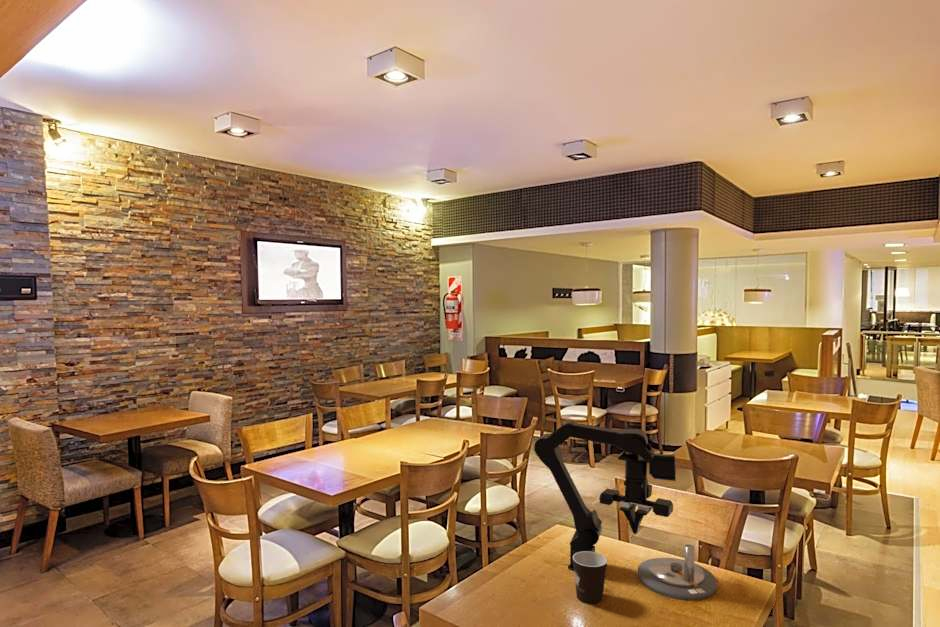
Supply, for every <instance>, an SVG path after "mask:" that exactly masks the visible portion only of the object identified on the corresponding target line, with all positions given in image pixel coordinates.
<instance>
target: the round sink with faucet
mask: <svg viewBox="0 0 940 627" xmlns="http://www.w3.org/2000/svg"><path fill="white" fill-rule="evenodd" d="M695 547H696V546H695V545H693V544H689V543H686V544H684V559H681V558H677V557H676V558H675V557H658V558H659V559H655V560H653V561H652V562H651V563H650V564H649V572H650V574H651V575H652V576H653V577H654V578H655V579H657V580H658V581H660V582H663V583H665V584H668V585H672V586H677V587H695V586H698V585H700V584H702V583H703V582H704V572H703V570H702V569H701V568H700V567H698V566H697V565H698V564H697V565H695V564H696V563H695V549H696V548H695Z"/></svg>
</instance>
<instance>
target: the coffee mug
mask: <svg viewBox="0 0 940 627" xmlns="http://www.w3.org/2000/svg"><path fill="white" fill-rule="evenodd" d="M573 566H574V570H573V576H574V583H575V592H576V599H577V600H578V601H579V602H581V603H582V604H587V605H598V604H600V603H601V602H603V597H604V596H603V595H604V588H605V581H606V580H605V579H606V575H607V573H606V572H607V566H608V558H607V557H606V556H605V555H603V554H602V553H598V552H597V551H595V552H591V551H582V552H578V553H575V554H574V555H573Z"/></svg>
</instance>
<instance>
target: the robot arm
mask: <svg viewBox="0 0 940 627" xmlns="http://www.w3.org/2000/svg"><path fill="white" fill-rule="evenodd" d="M570 438H572V439H573V438H575V439H579V440H585V441H590V442H595V443H600V444H605V445H611V446H613V447H616V448H618V450H622V452H621V453H620V454H619V455H618V456H617V459H618V460H619V461H620V460H621V461H624V465H625V466H624V467H625V468H624V469H625V470H624V481H623V486H624V495H623V494H620V493H621V492H620V491H619V490H617V489H612V488H606V489H604V491H602V492H601V493H600V494H599V503H600V504H602V505H606V506H611V505H612V504H613V503H614V502H617V503H620V507H619V511H622V512H623V514H624V516H625V517H626V519H627V522H628V524H629V526H630V528H631V530H632V533H633V534H635V535H637V533H638V531H639V529H640V526H641V524H642V521H643V519H644V516H648V514H649V513H650V512H651V510H652V512H653V513H654V514H655V515H656V516H660V517H664V518H668V517H670V515H671V514H672V513H673V511H674V503H673V502H672V500H669V499H665V498H659V497H658V498H657V499H655V501H653V500H648V499H650V497H652V492H653V484H649V479H648V474H649V475H651V477H652V478H653V479H654V480H661V481H672V482H676V473H677V472H676V471H677V470H676V469H677V467H676V466H677V465H676V455H675V454H671V453H669V454H664V453H663V454H662V453H656V452H655V450H654V448H653V447H652V446H651V444H650V443H649V442H648V440H649V438H648V436H647V434H646V433H645V431H644V430H642V429H640V428H619V429H618V428H617V429H616V428H615V429H612V428H608V427H602V426H596V425H592V424H587V423H586V424H585V423H580V422H575V421H572V420H568V421H566V422H564V424H562V425H561V426H560V427H558V428H557V429H556V430H553V432H551V433H544V434H543V435H541V436H540V437H539V438H538V439H537V440H536V441H535V443H534V447H533V450H534V452H535V454H536V456H537V457H538V458H539V460H540V461H541V463H543V465H545V466H546V467H547V468H548V469H549V471H550V472H551V475H552V476H553V479H554V481H555V482H556V484H557V487H558V489H559V491H560V493H561V494H562V496H563V498H564V500H565V503H566V504H567V507H568V509H569V510H570V513H571V514H572V517H573V518H572V519H573V523H574V524H573V525H574V529H575V531H574V534H573V536H572V538H571V540H570V542H569V546H570V550H569V551H570V554H569V559H570V560H569V562H570V563H569V564H568V565H567V569H568V570H569V569H570V570H572V571H574V566H573V555H574V554H575V553H578V552H582V551H591V552H596V546H595V545H596V544H597V543H598V541H599V539H600V536H601V534H602V530H603V526H602V524H603V521H602V520H601V519H600V517H599V516H598V512H597V510H596V509H593V510H592V511H591V510H590V509H589V508H588V507H587V506H586V504H585V502H584V500H583V498H582V496H581V494H580V492H579V491H578V488H577V486H576V485H575V482H574V480H573V478H572V477H571V474H570V472H569V471H568V467H566V465H565V463H564V460H563V459H564V458H563V453H562V449H561V446H560V445H561V444H563V443H564V442H566V441H567V440H569V439H570ZM648 463H649V465H648ZM648 466H649V468H648ZM648 469H649V470H648ZM648 471H649V472H648ZM636 508H637V510H636Z"/></svg>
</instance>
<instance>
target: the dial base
mask: <svg viewBox="0 0 940 627" xmlns="http://www.w3.org/2000/svg"><path fill="white" fill-rule="evenodd" d="M659 558H660V557H656V558H650V559H647V560H644V561H642V562H640V564H639V565H638V567H637V579H638V580H639V582H640V583H641V584H642V585H643V586H644V587H645V588H647V589H648V590H650V591H652V592H654V593H656V594H659V595H661V596H664V597H667V598H672V599H675V600H676V599H677V600H683V601H695V600H696V601H697V599H699V600H704V599H708V598H710V597H712V596H713V595H714V594H715V593H716V592H715V591H717V589H716V588H717V586H718V585H717V583H718V581H717V579H716V578H717V577H715V575H714V574H713V573H712V572H711V571H710V570H708V569H707V568H705V567H704V566H701V565H699V564H696V563H694V564H695V565H697V566H698V567H700V568H701V569H702V570H703V572H704V582H703V583H702V584H700V585H698V586H695V587H677V586H672V585H668V584H665V583H663V582H660V581H658V580H657V579H655V578H654V577H653V576H652V575H651V574H650V572H649V564H650V563H651V562H652V561H653V560H655V559H659ZM711 595H712V596H711ZM707 597H708V598H707Z"/></svg>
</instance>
